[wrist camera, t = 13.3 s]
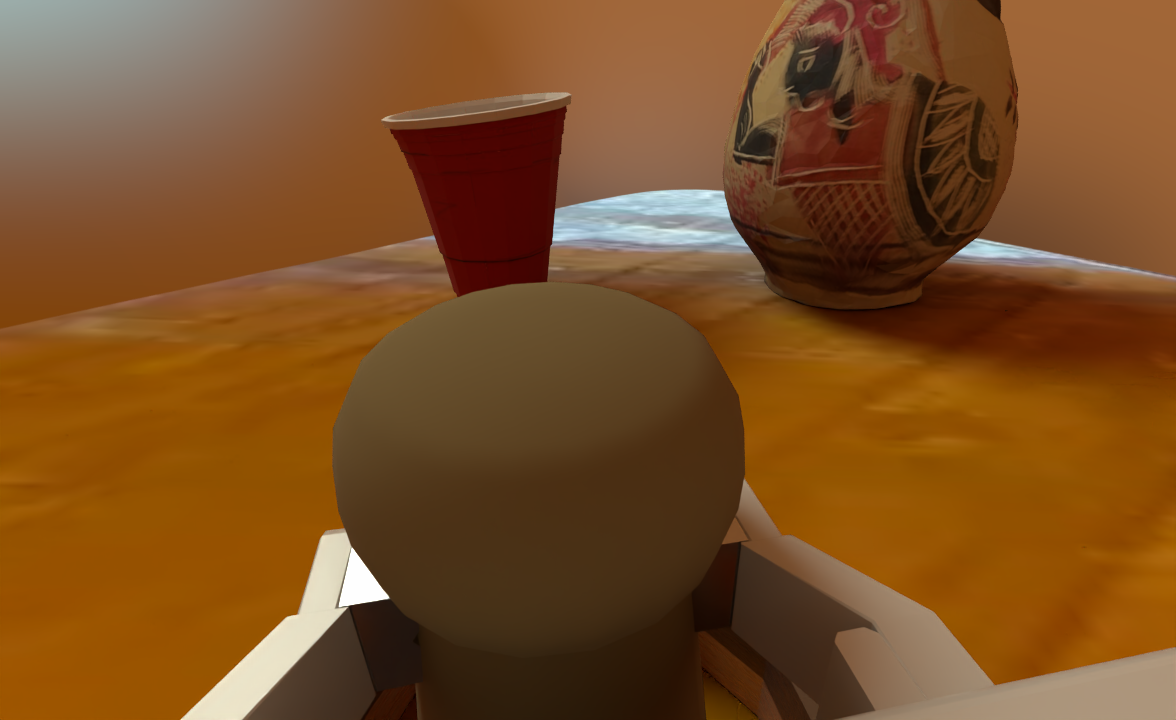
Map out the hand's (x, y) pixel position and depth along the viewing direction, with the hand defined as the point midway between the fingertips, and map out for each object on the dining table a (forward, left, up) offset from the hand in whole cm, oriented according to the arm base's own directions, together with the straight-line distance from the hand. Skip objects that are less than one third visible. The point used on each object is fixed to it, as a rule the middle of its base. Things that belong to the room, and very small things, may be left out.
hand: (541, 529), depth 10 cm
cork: (0, 0, -7) cm, 7 cm away
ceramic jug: (+22, +25, -8) cm, 34 cm away
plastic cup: (0, +30, -8) cm, 31 cm away
